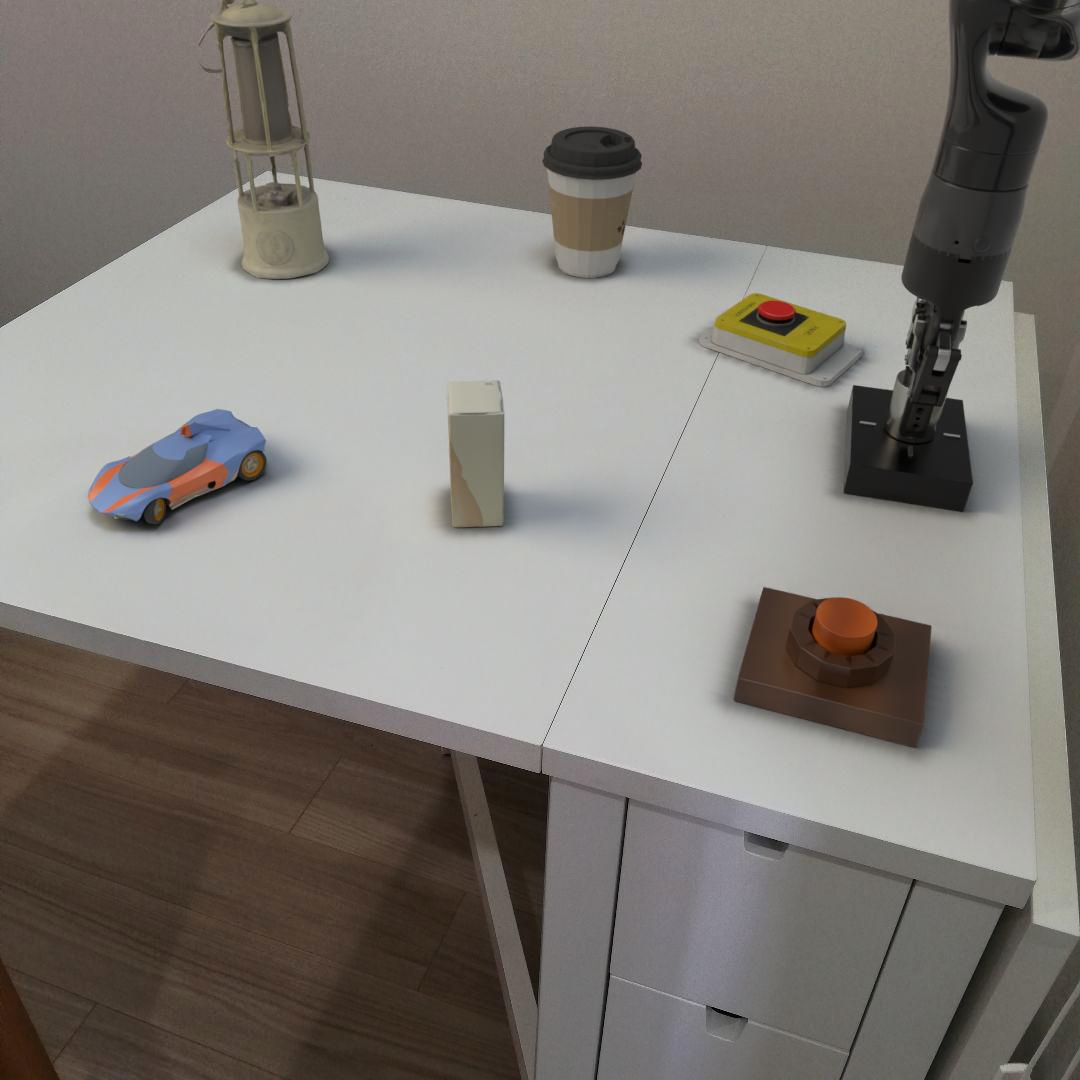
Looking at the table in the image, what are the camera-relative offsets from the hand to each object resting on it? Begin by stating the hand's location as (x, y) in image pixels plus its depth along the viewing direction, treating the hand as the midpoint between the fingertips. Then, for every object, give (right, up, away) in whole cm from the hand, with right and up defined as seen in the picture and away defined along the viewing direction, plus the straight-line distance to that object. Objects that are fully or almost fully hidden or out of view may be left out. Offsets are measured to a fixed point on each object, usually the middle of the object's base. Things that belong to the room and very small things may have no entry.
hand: (910, 419), depth 93 cm
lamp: (-64, +23, +34) cm, 76 cm away
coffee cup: (-27, +22, +34) cm, 49 cm away
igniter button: (-12, -17, -21) cm, 30 cm away
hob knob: (0, -1, +1) cm, 1 cm away
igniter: (-12, -20, -19) cm, 30 cm away
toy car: (-63, -6, -3) cm, 64 cm away
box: (-38, -8, -5) cm, 39 cm away
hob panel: (0, -3, +3) cm, 4 cm away
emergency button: (-7, +9, +19) cm, 22 cm away
